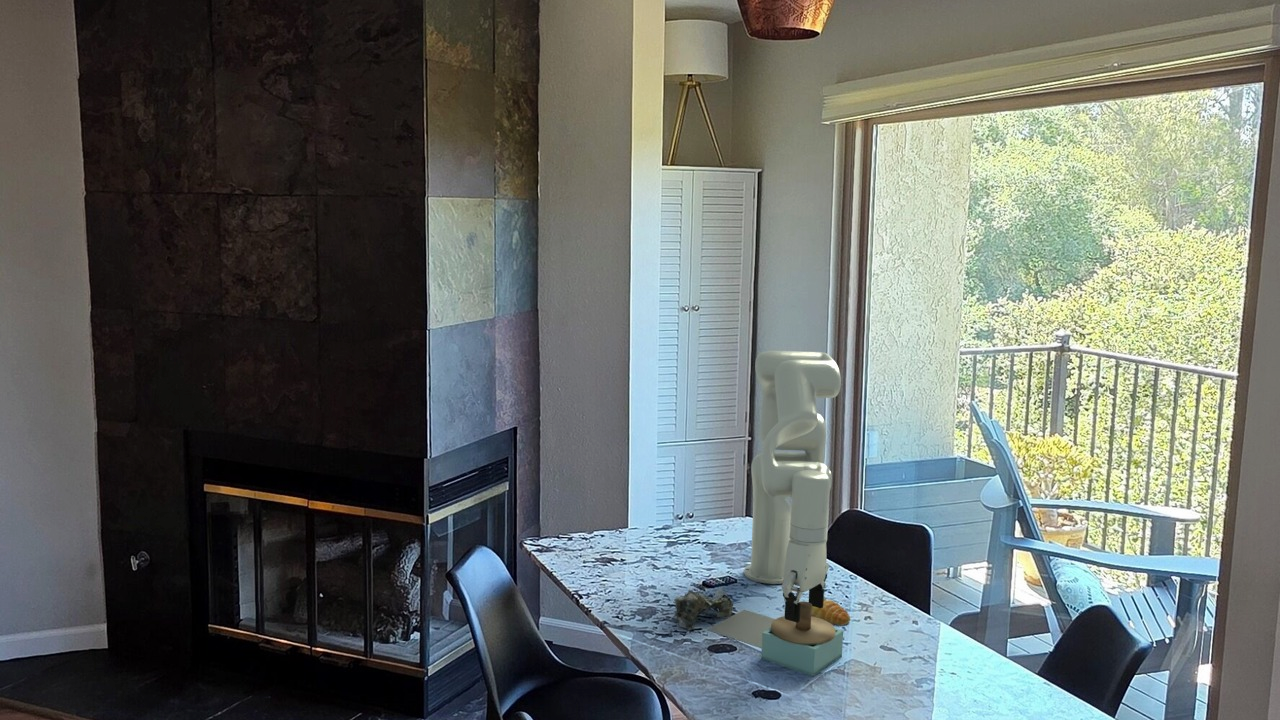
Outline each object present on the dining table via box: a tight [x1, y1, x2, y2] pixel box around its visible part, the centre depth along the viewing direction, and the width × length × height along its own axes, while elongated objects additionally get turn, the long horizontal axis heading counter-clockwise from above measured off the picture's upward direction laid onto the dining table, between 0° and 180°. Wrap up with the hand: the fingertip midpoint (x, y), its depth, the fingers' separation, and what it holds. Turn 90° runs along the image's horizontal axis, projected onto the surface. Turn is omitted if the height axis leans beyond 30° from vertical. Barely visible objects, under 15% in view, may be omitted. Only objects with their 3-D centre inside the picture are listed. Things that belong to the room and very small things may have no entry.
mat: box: [706, 609, 776, 649], centre depth 225 cm, size 15×15×1 cm
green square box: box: [760, 627, 844, 677], centre depth 211 cm, size 12×12×6 cm
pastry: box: [811, 598, 851, 626], centre depth 232 cm, size 9×7×4 cm
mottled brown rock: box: [673, 586, 734, 631], centre depth 229 cm, size 12×11×15 cm
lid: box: [771, 601, 836, 645], centre depth 210 cm, size 13×13×6 cm
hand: (804, 613), depth 210 cm, fingers open, 9 cm apart
